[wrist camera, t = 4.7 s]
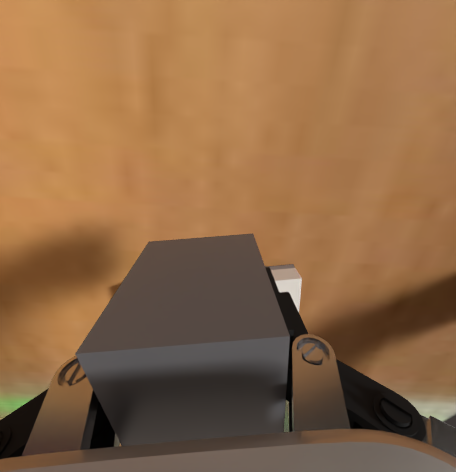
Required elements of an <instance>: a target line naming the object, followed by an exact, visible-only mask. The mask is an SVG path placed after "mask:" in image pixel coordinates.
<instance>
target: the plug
mask: <svg viewBox="0 0 456 472" xmlns="http://www.w3.org/2000/svg"><path fill="white" fill-rule="evenodd" d="M289 342H290V335H289V332H288V330H287V327H286V324H285V321H284V318H283V316H282V313H281V310H280V307H279V305H278V302H277V299H276V296H275V293H274V291H273V288H272V285H271V282H270V279H269V277H268V274H267V271H266V268H265V266H264V263H263V260H262V257H261V254H260V252H259V249H258V246H257V243H256V241H255V238H254V235H253V234H242V235H229V236H217V237H204V238H191V239H178V240H165V241H152V242H148V244H147V245H146V247H145V248H144V250H143V251H142V253H141V254H140V256H139V257H138V259H137V261H136V262H135V264H134V265H133V267H132V268H131V270H130V271H129V273H128V274H127V276H126V277H125V279H124V280H123V282H122V283H121V285H120V286H119V288H118V290H117V291H116V293H115V294H114V296H113V297H112V299H111V300H110V302H109V303H108V305H107V306H106V308H105V309H104V311H103V312H102V314H101V315H100V317H99V319H98V320H97V322H96V323H95V325H94V326H93V328H92V329H91V331H90V332H89V334H88V335H87V337H86V338H85V340H84V341H83V343H82V344H81V346H80V347H79V349H78V351H77V352H76V356H77V358H78V360H79V362H80V364H81V366H82V368H83V370H84V372H85V374H86V376H87V378H88V380H89V382H90V384H91V386H92V388H93V390H94V392H95V394H96V396H97V398H98V400H99V402H100V404H101V406H102V408H103V410H104V412H105V414H106V416H107V418H108V420H109V422H110V424H111V426H112V428H113V430H114V432H115V434H116V435H117V437H118V439H119V441H120V443H121V445H122V446H130V445H141V444H152V443H164V442H175V441H187V440H198V439H210V438H222V437H234V436H246V435H259V434H271V433H283V432H284V418H285V403H286V388H287V372H288V357H289Z"/></svg>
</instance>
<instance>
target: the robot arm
mask: <svg viewBox="0 0 456 472" xmlns="http://www.w3.org/2000/svg"><path fill="white" fill-rule="evenodd" d="M265 268H266V271H267V274H268V277H269V279H270V282H271V285H272V288H273V291H274V293H275V296H276V299H277V302H278V305H279V307H280V310H281V313H282V316H283V318H284V321H285V324H286V327H287V330H288V332H289V335H290V342H289V357H288V372H287V388H286V400H287V401H288V432H283V433H271V434H259V435H246V436H234V437H222V438H210V439H198V440H187V441H175V442H164V443H152V444H141V445H130V446H119V443H120V441H119V439H118V437H117V435H116V434H115V432H114V430H113V428H112V426H111V424H110V422H109V420H108V418H107V416H106V414H105V412H104V410H103V408H102V406H101V404H100V402H99V400H98V398H97V396H96V394H95V392H94V390H93V388H92V386H91V384H90V382H89V380H88V378H87V376H86V374H85V372H84V370H83V368H82V366H81V364H80V362H79V360H78V358H77V356H74V357H72V358H71V359H69V360H68V361H66V362H65V363H64V364H63V365H62V366H61V367H60V368H59V369H58V370H57V371H56V373H55V375H54V377H53V379H52V381H51V384H50V386H49V389H47V390H46V391H44V392H43V393H41V394H40V395H38V396H37V397H35V398H34V399H32V400H30V401H29V402H27V403H26V404H24V405H23V406H21V407H20V408H18V409H17V410H15V411H14V412H12V413H11V414H9V415H8V416H6V417H5V418H3V419H2V420H0V472H456V428H454V427H452V426H450V425H448V424H446V423H444V422H442V421H440V420H438V419H436V418H434V417H432V416H430V417H429V419H428V418H426V417H424V416H422V415H420V414H419V412H418V411H417V410H416V408H415V407H414V406H413V405H412V404H411V403H410V402H409V401H408V400H406V399H405V398H403V397H402V396H400V395H399V394H397V393H395V392H394V391H392V390H390V389H388V388H386V387H385V386H383V385H381V384H379V383H378V382H376V381H374V380H372V379H370V378H369V377H367V376H365V375H363V374H362V373H360V372H358V371H356V370H355V369H353V368H351V367H349V366H347V365H346V364H344V363H342V362H340V361H339V360H337V359H336V357H335V353H334V351H333V348H332V347H331V346H330V344H329V343H328V342H327V341H325V340H324V339H322V338H320V337H318V336H316V335H312V334H308V332H307V330H306V328H305V326H304V323H303V321H302V319H301V317H300V315H299V312H298V310H297V308H296V306H295V304H294V301H293V299H292V297H291V295H290V293H289V292H279V290H278V287H277V285H276V282H275V280H274V277H273V275H272V272H271V270H270V267H265Z"/></svg>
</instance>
